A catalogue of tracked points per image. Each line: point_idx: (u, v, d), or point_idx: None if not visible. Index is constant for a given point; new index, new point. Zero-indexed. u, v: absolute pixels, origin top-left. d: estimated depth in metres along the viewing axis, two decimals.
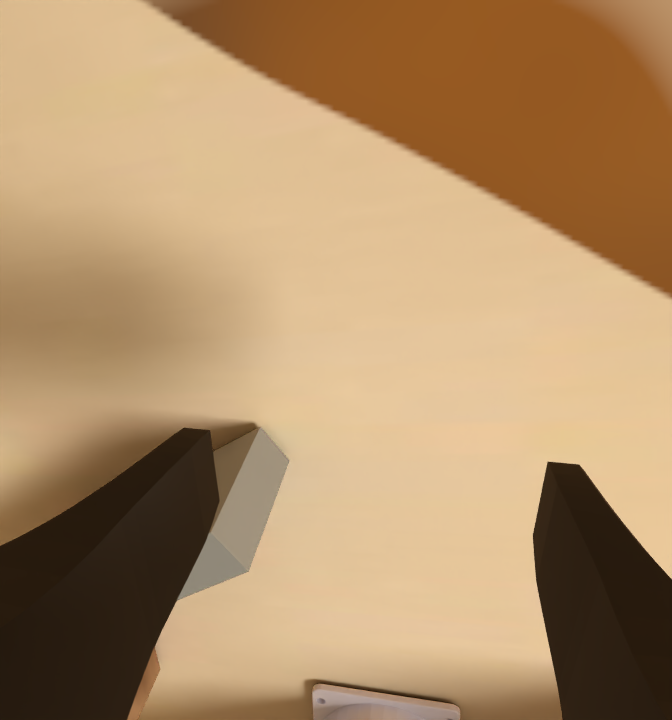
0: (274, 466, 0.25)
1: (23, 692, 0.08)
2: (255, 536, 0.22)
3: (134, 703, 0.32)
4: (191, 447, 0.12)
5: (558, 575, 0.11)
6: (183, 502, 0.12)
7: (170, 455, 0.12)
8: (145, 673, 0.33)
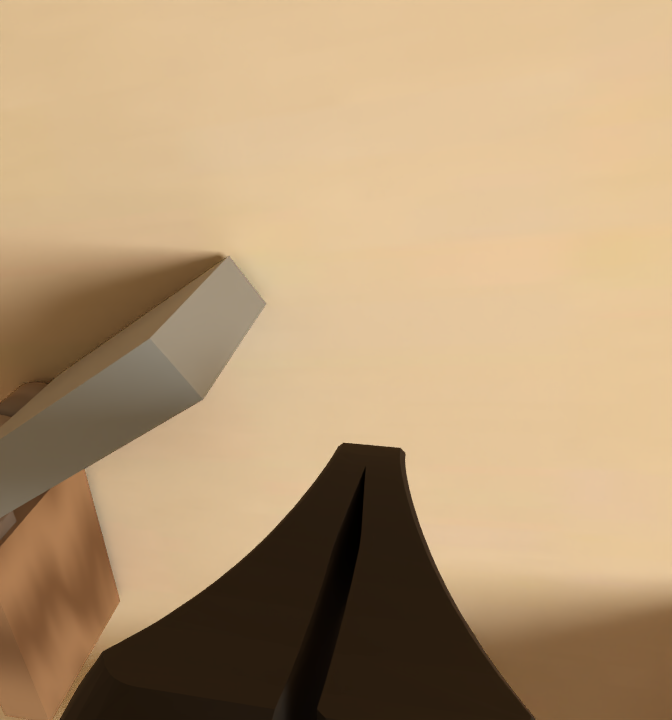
0: (245, 302, 0.19)
1: None
2: (215, 364, 0.16)
3: (84, 633, 0.27)
4: (365, 464, 0.12)
5: None
6: (358, 522, 0.12)
7: (348, 473, 0.11)
8: (99, 600, 0.28)
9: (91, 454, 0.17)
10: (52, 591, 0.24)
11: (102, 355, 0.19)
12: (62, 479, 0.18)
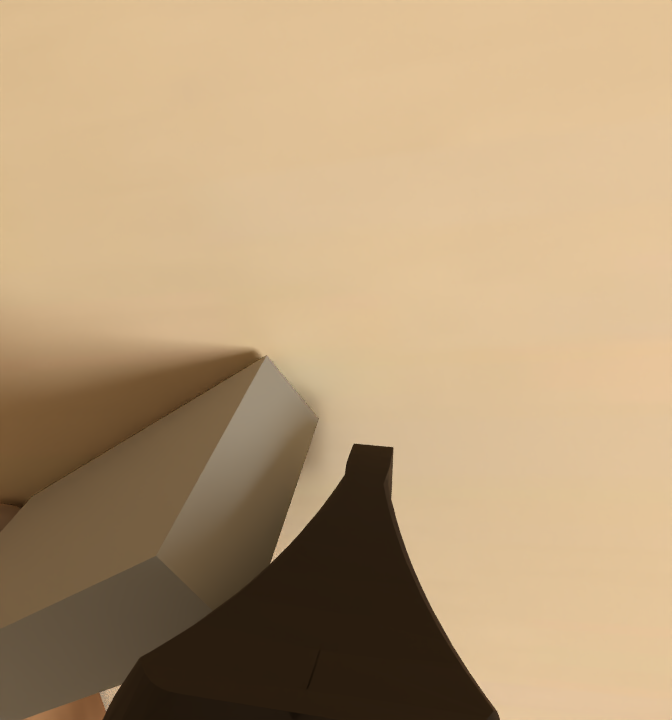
0: (293, 426, 0.13)
1: None
2: (259, 560, 0.10)
3: None
4: (388, 466, 0.12)
5: None
6: None
7: (372, 476, 0.11)
8: None
9: (65, 692, 0.11)
10: None
11: (85, 512, 0.13)
12: (23, 716, 0.12)
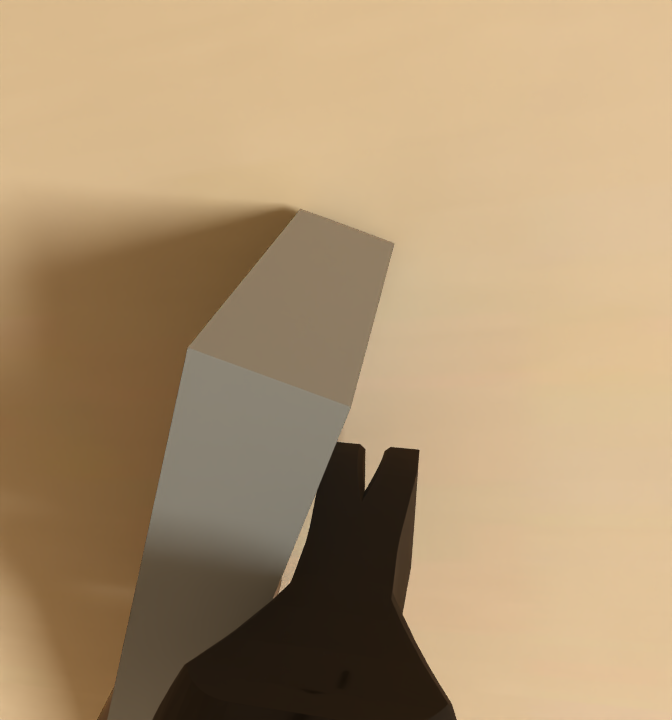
0: (358, 250, 0.11)
1: None
2: (348, 344, 0.08)
3: None
4: (416, 469, 0.12)
5: None
6: (410, 528, 0.11)
7: (401, 478, 0.11)
8: None
9: (248, 612, 0.09)
10: None
11: None
12: None
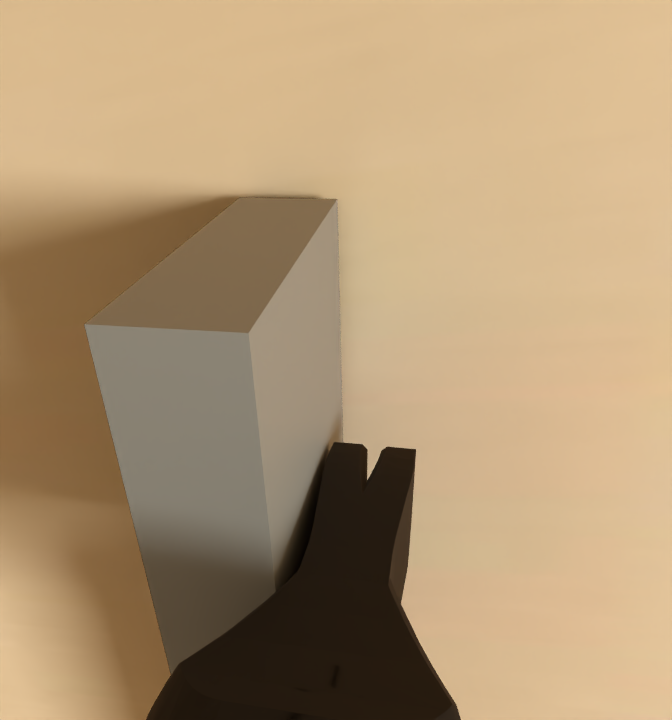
0: (295, 212, 0.11)
1: None
2: (261, 285, 0.08)
3: None
4: (413, 469, 0.12)
5: None
6: (406, 527, 0.11)
7: (397, 478, 0.11)
8: None
9: (258, 587, 0.09)
10: None
11: None
12: None
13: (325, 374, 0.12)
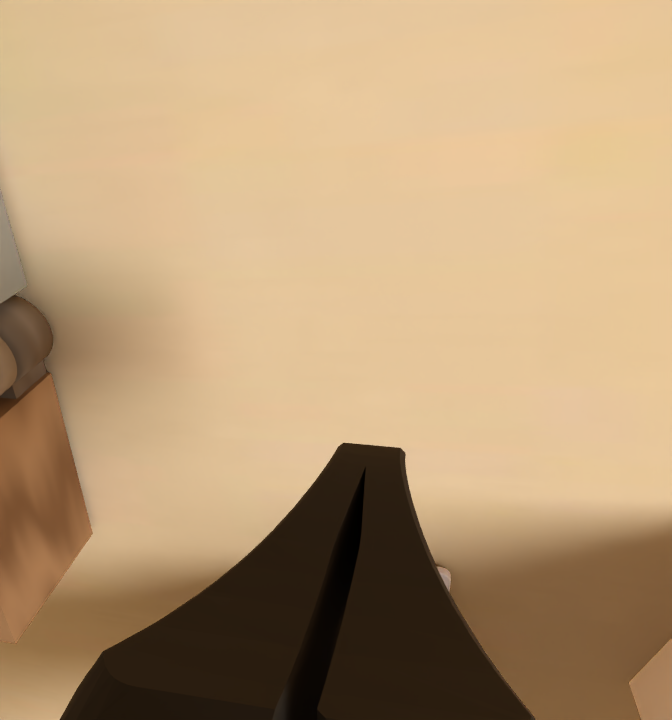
0: None
1: None
2: None
3: (54, 559, 0.26)
4: (365, 464, 0.12)
5: None
6: (358, 522, 0.12)
7: (349, 473, 0.11)
8: (70, 528, 0.27)
9: None
10: (19, 509, 0.24)
11: None
12: None
13: None
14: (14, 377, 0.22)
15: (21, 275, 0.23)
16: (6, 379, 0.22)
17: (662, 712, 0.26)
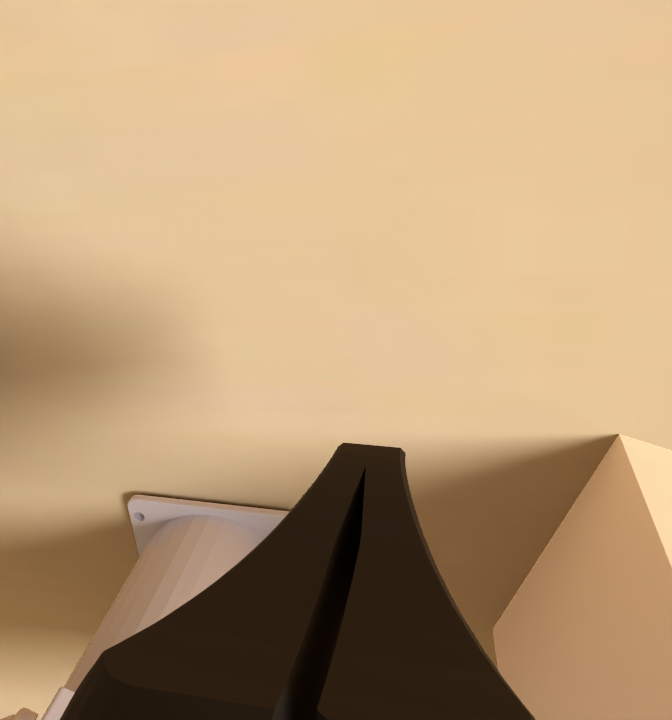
0: None
1: None
2: None
3: None
4: (365, 464, 0.12)
5: None
6: (358, 522, 0.12)
7: (348, 473, 0.11)
8: None
9: None
10: None
11: None
12: None
13: None
14: None
15: None
16: None
17: (511, 653, 0.26)
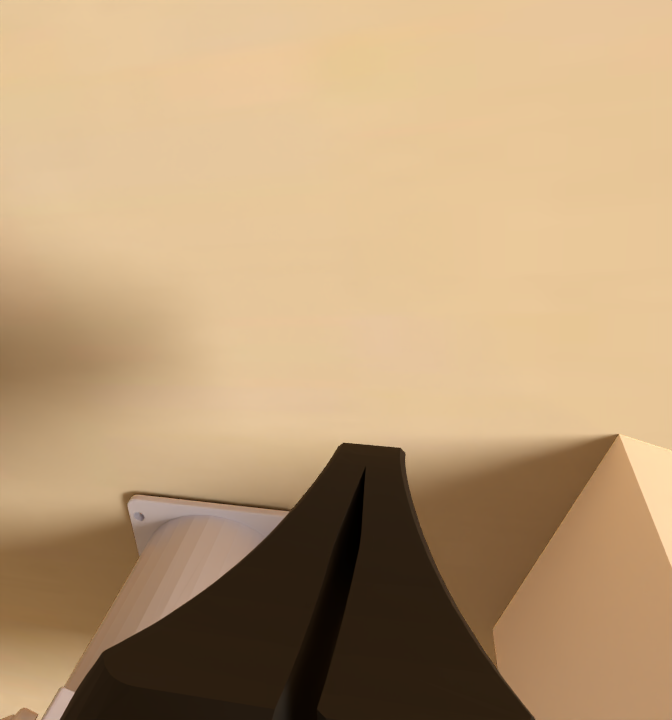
0: None
1: None
2: None
3: None
4: (365, 464, 0.12)
5: None
6: (358, 522, 0.12)
7: (348, 473, 0.11)
8: None
9: None
10: None
11: None
12: None
13: None
14: None
15: None
16: None
17: (511, 653, 0.26)
